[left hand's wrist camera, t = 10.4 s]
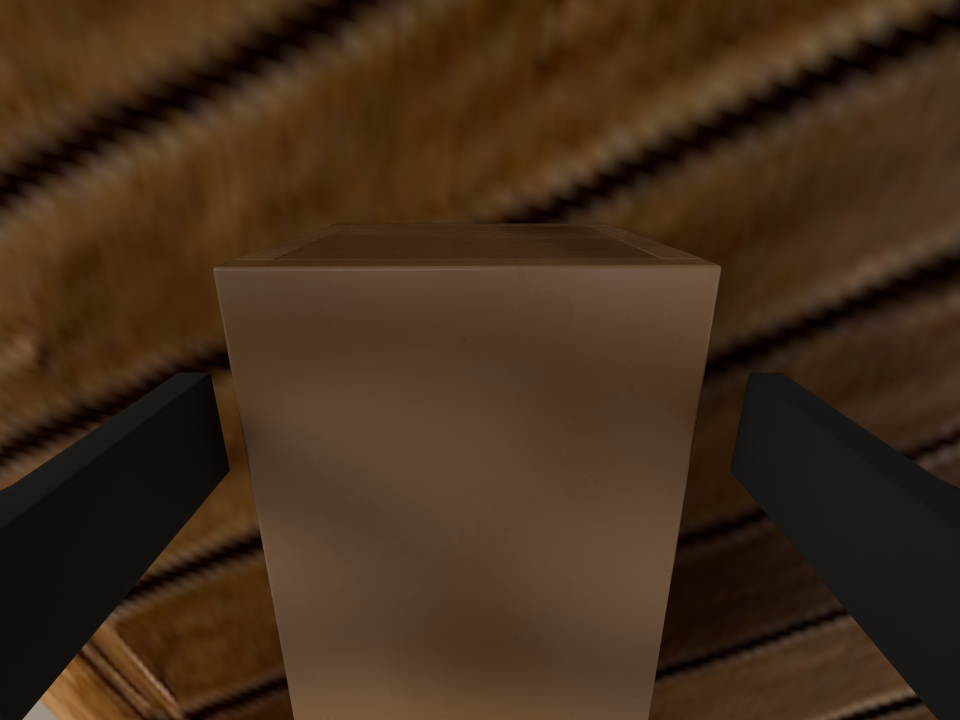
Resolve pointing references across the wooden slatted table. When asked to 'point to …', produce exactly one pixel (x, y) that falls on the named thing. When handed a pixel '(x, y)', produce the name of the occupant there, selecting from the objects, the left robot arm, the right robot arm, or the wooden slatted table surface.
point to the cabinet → (469, 461)
